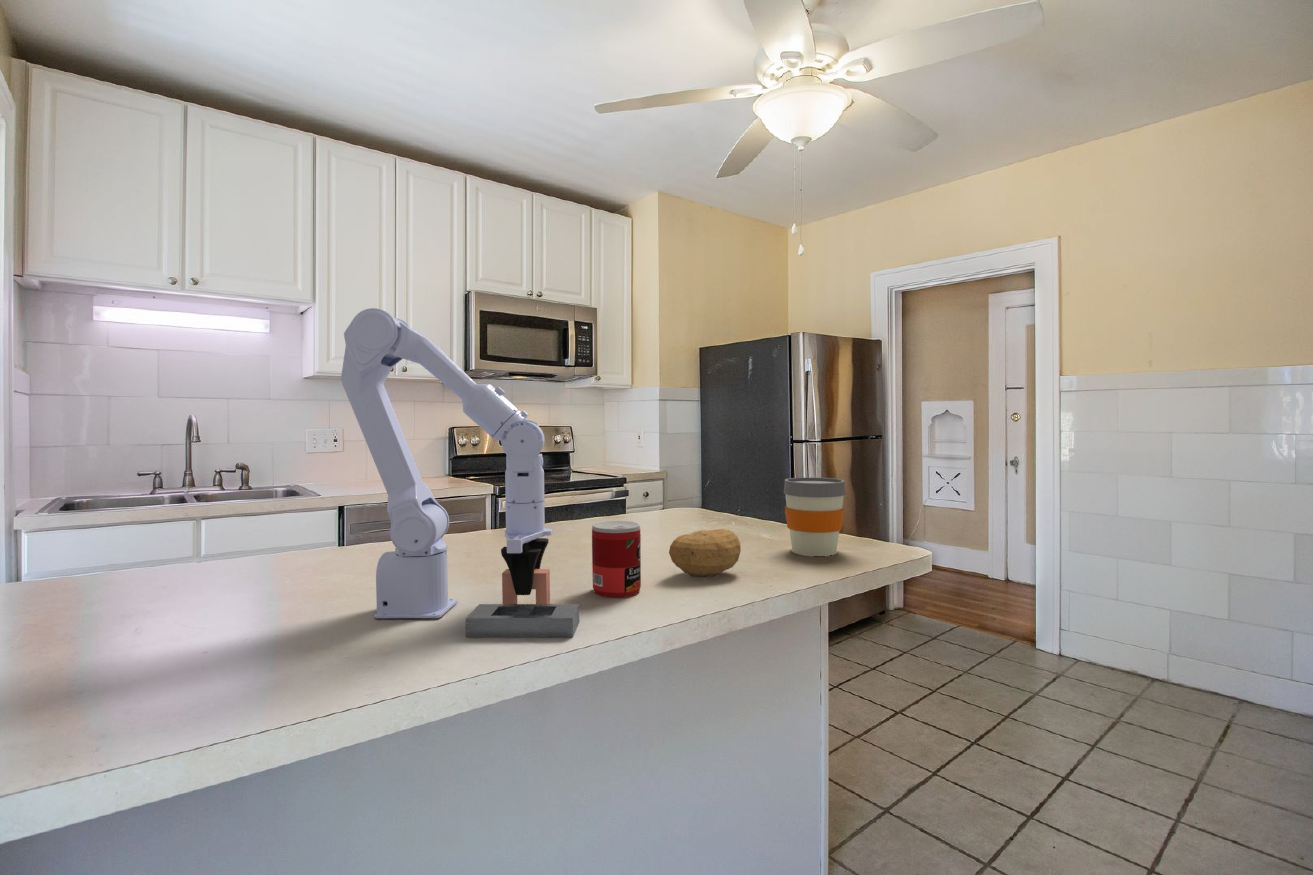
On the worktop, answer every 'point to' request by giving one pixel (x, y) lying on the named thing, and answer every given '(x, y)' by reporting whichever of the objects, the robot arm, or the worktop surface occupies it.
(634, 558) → the canned food
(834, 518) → the reusable coffee cup
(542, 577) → the clip
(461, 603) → the worktop surface
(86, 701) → the worktop surface
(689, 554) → the potato
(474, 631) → the grey slotted block
